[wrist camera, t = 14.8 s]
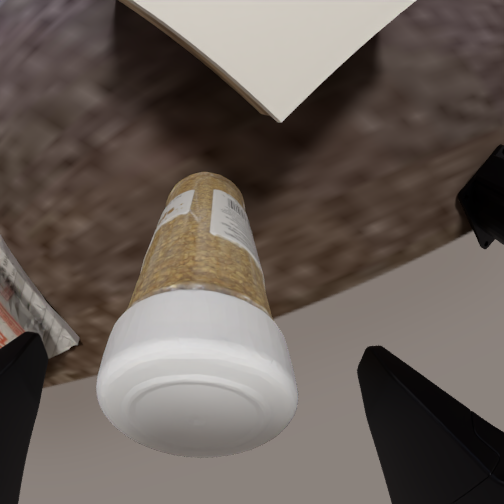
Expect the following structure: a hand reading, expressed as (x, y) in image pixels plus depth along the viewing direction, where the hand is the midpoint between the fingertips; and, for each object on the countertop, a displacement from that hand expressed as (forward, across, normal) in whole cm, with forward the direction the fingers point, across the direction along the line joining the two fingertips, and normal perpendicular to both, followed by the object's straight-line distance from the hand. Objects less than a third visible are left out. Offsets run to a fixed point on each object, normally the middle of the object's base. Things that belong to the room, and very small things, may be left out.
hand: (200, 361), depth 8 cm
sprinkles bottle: (+12, 0, 0) cm, 12 cm away
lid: (+7, -1, -13) cm, 15 cm away
